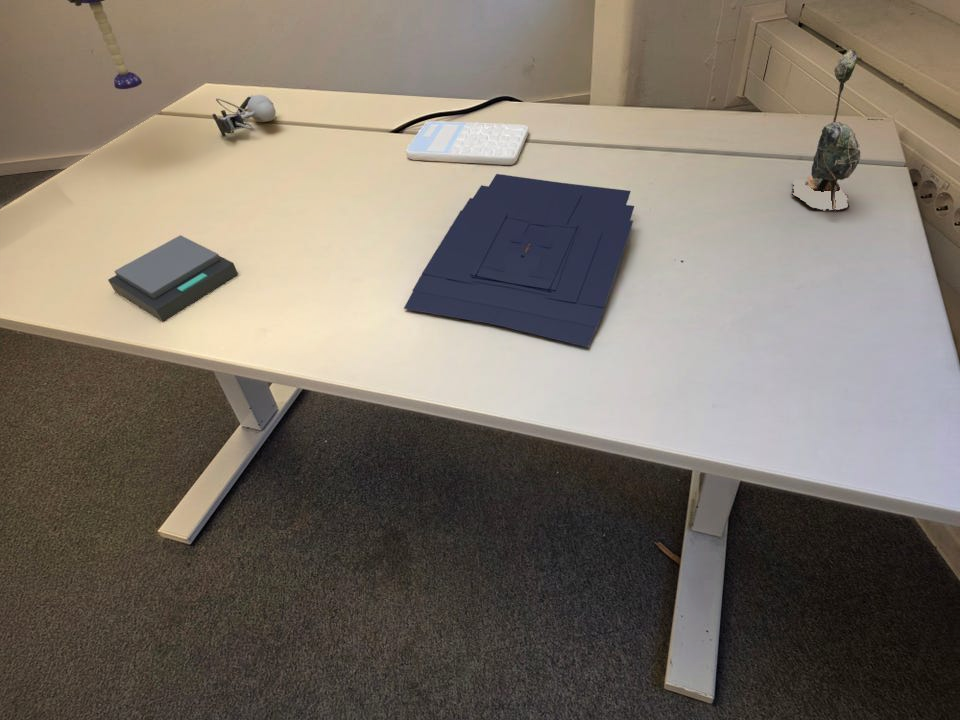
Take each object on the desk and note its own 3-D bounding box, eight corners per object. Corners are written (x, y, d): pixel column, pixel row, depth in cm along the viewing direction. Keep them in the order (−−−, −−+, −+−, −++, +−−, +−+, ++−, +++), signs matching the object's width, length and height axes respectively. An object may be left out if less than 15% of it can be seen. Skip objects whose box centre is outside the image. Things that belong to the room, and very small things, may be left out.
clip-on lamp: (218, 131, 129) (227, 143, 114) (203, 100, 125) (210, 109, 111) (271, 112, 131) (285, 121, 117) (257, 81, 128) (271, 87, 114)
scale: (162, 321, 78) (152, 303, 76) (114, 291, 84) (103, 273, 82) (238, 274, 85) (231, 256, 83) (189, 249, 90) (181, 232, 88)
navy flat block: (642, 208, 88) (644, 187, 85) (590, 363, 71) (591, 342, 68) (486, 187, 95) (484, 167, 93) (405, 322, 78) (399, 303, 76)
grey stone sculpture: (786, 216, 87) (834, 69, 73) (790, 178, 94) (835, 39, 80) (849, 224, 84) (911, 74, 70) (848, 186, 91) (905, 43, 77)
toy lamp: (140, 77, 104) (91, -37, 92) (150, 83, 101) (101, -33, 90) (111, 85, 102) (58, -30, 90) (121, 92, 99) (67, -26, 87)
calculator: (515, 166, 103) (515, 156, 101) (404, 160, 107) (402, 150, 106) (530, 132, 112) (529, 122, 110) (427, 128, 116) (425, 118, 115)
